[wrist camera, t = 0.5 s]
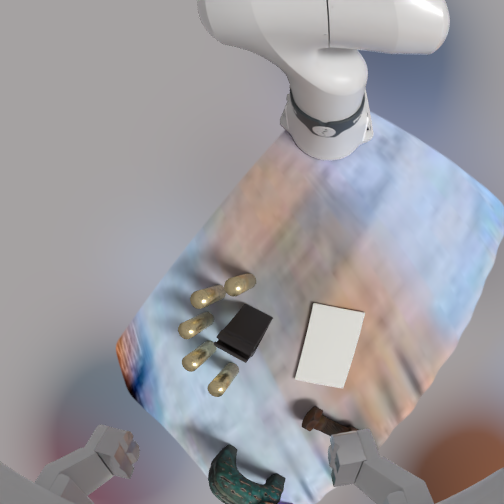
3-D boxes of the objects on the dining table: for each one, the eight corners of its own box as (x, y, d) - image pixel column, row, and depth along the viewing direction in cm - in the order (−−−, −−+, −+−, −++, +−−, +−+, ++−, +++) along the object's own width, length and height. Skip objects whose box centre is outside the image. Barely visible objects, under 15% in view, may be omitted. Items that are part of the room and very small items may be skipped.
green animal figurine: (293, 479, 52) (281, 536, 33) (276, 489, 53) (260, 544, 34) (230, 438, 56) (199, 492, 36) (215, 450, 57) (182, 501, 37)
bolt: (359, 435, 51) (307, 410, 53) (373, 428, 48) (319, 401, 50) (353, 456, 46) (298, 431, 49) (368, 450, 43) (310, 424, 46)
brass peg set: (208, 264, 57) (187, 266, 47) (257, 274, 54) (244, 279, 45) (193, 363, 58) (172, 381, 48) (237, 377, 55) (222, 398, 46)
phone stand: (245, 303, 55) (226, 316, 43) (273, 317, 54) (261, 334, 42) (227, 341, 56) (204, 361, 44) (253, 355, 55) (236, 379, 43)
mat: (313, 302, 52) (313, 303, 51) (364, 312, 50) (365, 313, 49) (295, 378, 53) (294, 379, 52) (342, 387, 50) (342, 388, 50)
